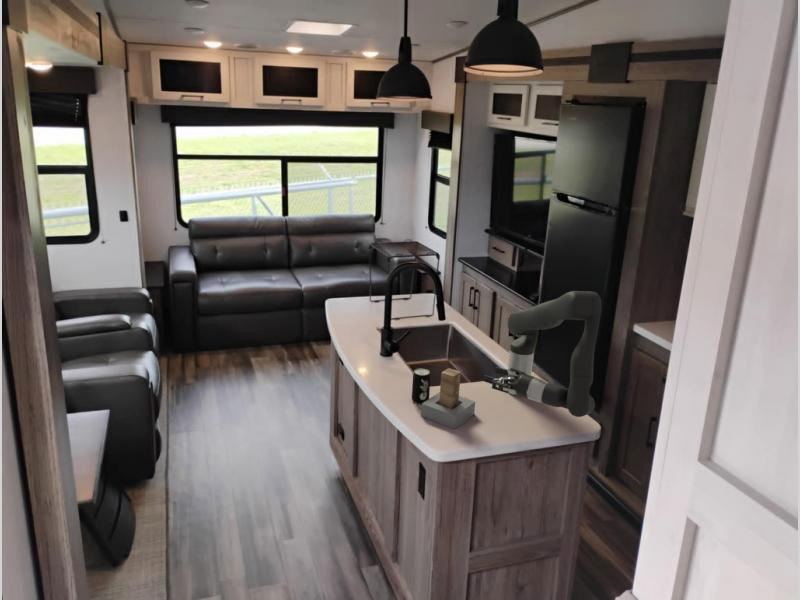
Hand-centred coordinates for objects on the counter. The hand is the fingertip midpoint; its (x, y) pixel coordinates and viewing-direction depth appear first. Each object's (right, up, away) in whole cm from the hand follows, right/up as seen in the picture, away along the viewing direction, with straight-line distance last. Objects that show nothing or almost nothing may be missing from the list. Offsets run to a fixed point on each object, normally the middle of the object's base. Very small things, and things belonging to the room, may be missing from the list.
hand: (489, 373), depth 216 cm
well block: (-14, -16, +10) cm, 24 cm away
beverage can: (-23, -13, +20) cm, 34 cm away
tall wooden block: (-14, -15, +10) cm, 23 cm away
